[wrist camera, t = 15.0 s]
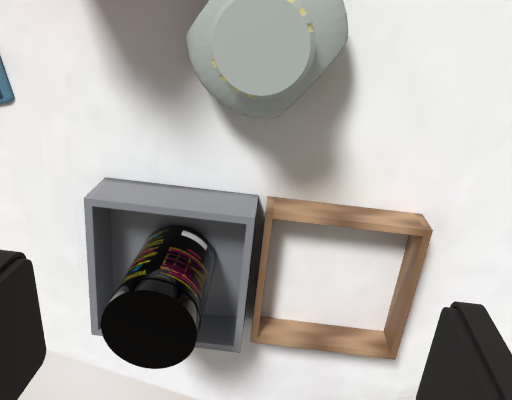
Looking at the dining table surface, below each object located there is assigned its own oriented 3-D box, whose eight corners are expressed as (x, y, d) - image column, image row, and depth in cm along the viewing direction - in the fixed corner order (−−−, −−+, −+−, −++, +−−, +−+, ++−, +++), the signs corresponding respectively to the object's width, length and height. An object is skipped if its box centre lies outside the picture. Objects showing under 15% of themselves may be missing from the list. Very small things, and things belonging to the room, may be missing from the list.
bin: (258, 195, 39) (254, 218, 35) (244, 320, 44) (240, 352, 40) (105, 177, 39) (83, 198, 35) (109, 303, 44) (91, 334, 40)
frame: (422, 214, 39) (432, 230, 36) (388, 337, 44) (395, 359, 41) (267, 196, 39) (266, 211, 36) (252, 320, 44) (250, 342, 41)
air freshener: (260, 125, 36) (251, 166, 27) (179, 53, 35) (141, 70, 25) (361, 15, 33) (390, 19, 24) (276, -72, 31) (272, -104, 22)
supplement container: (131, 266, 42) (86, 344, 32) (160, 208, 39) (121, 273, 30) (197, 298, 43) (173, 382, 33) (230, 243, 40) (214, 317, 31)
